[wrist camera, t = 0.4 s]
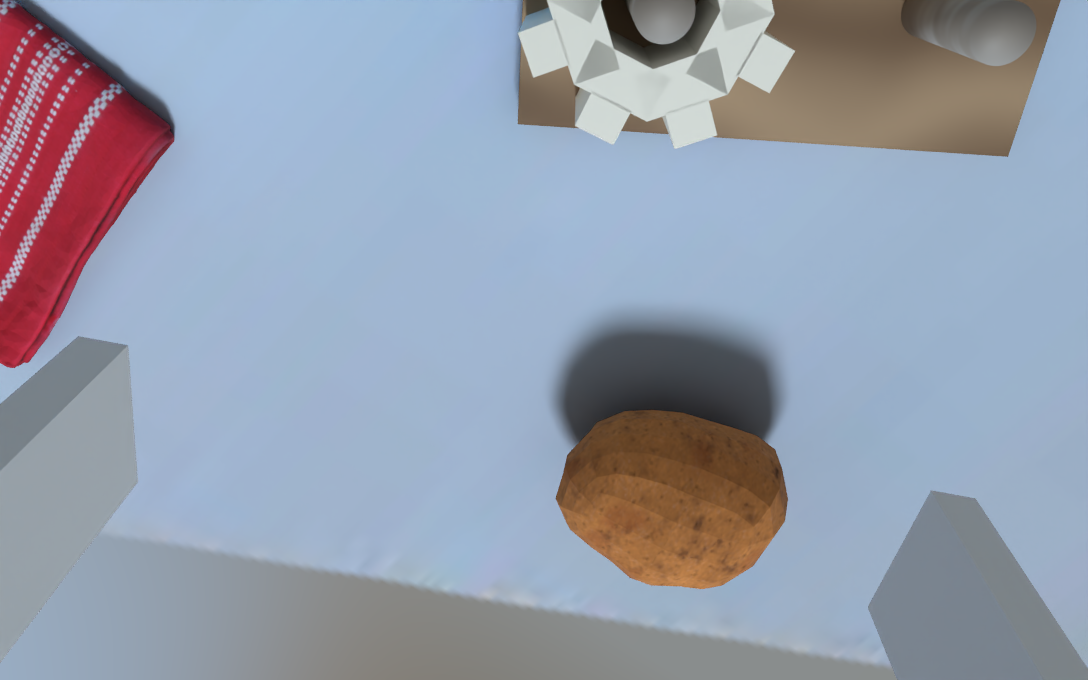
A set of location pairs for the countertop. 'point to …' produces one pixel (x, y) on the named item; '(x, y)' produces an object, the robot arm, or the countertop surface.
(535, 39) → the cream gear
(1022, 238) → the countertop surface
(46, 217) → the dish towel
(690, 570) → the potato
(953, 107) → the walnut board
